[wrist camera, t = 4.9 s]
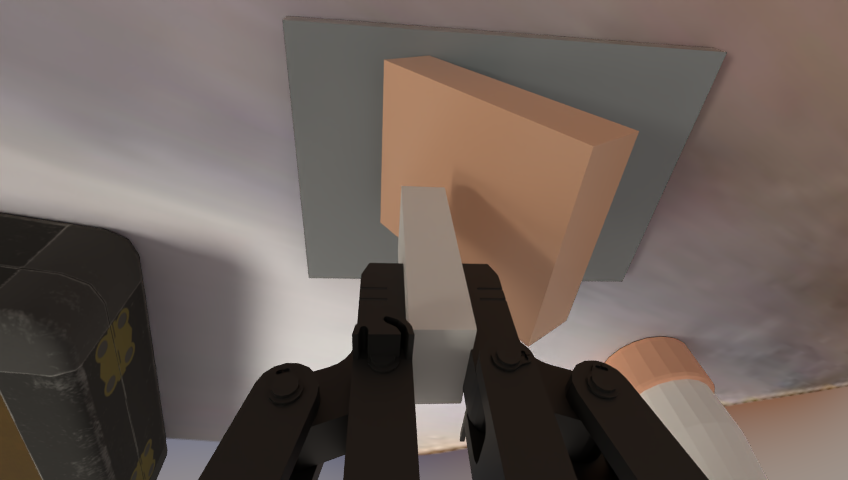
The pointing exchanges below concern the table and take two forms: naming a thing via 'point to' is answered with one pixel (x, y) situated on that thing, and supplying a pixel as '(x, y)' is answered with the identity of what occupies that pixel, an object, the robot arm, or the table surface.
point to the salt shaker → (688, 406)
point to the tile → (504, 178)
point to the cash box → (75, 356)
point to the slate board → (496, 58)
